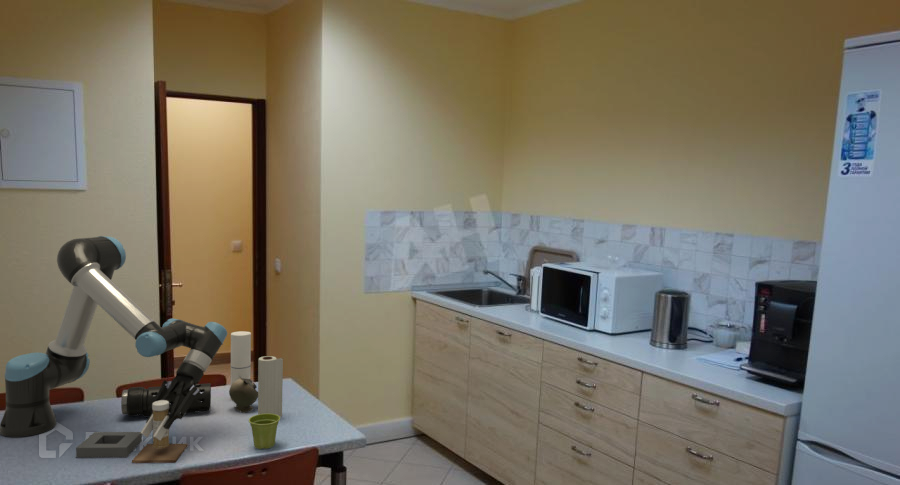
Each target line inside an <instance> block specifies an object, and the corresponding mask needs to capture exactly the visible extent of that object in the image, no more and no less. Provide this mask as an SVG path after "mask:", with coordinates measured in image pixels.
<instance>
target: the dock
mask: <svg viewBox="0 0 900 485" xmlns="http://www.w3.org/2000/svg"><path fill="white" fill-rule="evenodd" d="M142 441H143V435H142V434H141V431H94V432H93V433H91V435H89V436H88V437H87V438H86V439H85V440H84V441H82V442H81V443H79V444H78V446H76V448H75V451H76V452H75V453H76V454H75V458H77V459H78V458H79V459H80V458H82V459H83V458H85V459H86V458H87V459H89V458H90V459H92V458H95V459H96V458H97V459H98V458H103V459H104V458H128V456H129V455H130V454H131V453H132V452H133V451H134V450H135V449H136V448H137V447H138V446H139V445H140V444H141V443H142Z"/></svg>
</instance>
